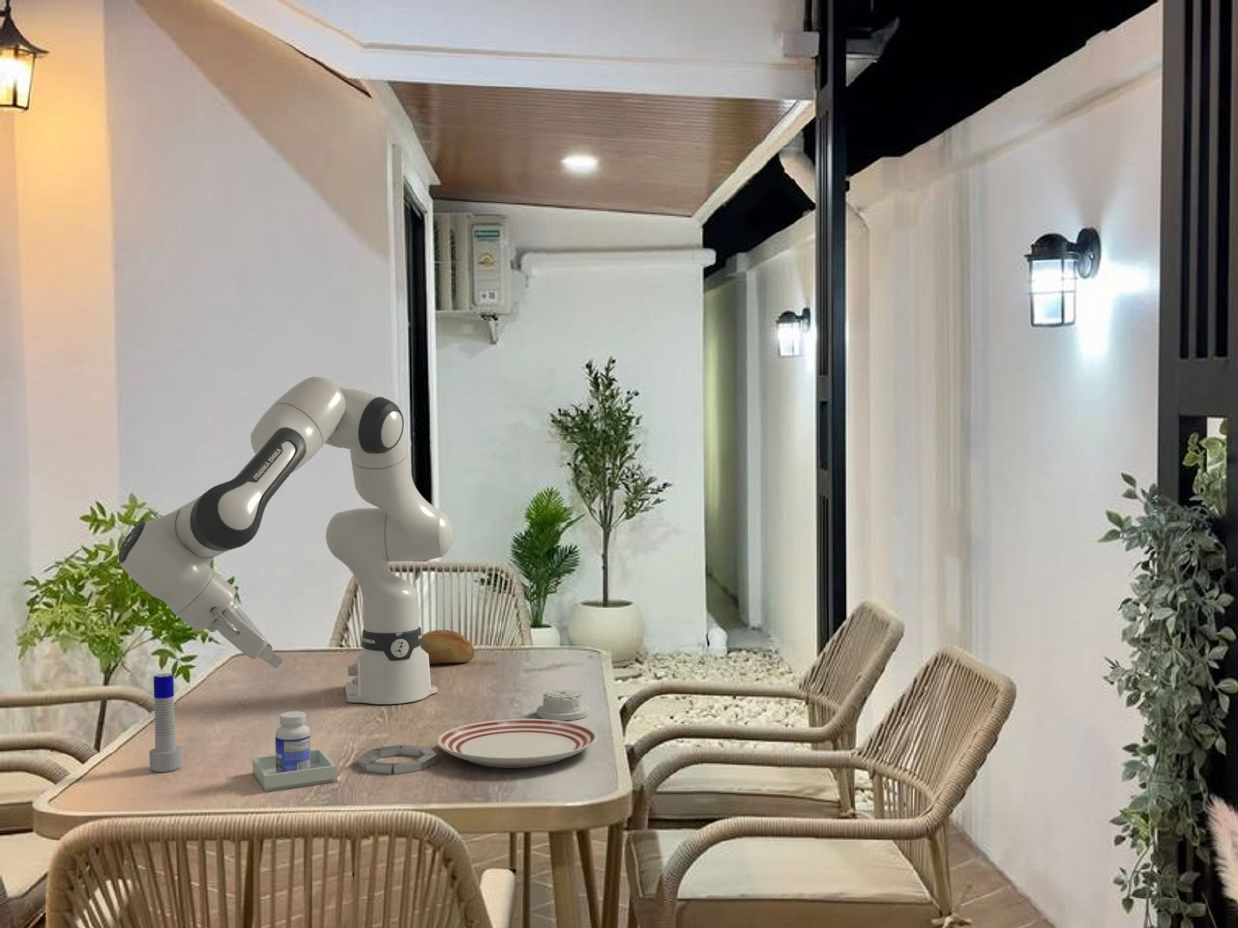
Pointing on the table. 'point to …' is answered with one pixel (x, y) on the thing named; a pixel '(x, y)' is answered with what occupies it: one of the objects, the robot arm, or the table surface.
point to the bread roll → (446, 647)
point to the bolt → (164, 727)
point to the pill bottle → (292, 743)
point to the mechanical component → (562, 706)
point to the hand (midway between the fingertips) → (274, 657)
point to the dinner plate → (517, 742)
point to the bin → (294, 772)
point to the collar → (370, 765)
